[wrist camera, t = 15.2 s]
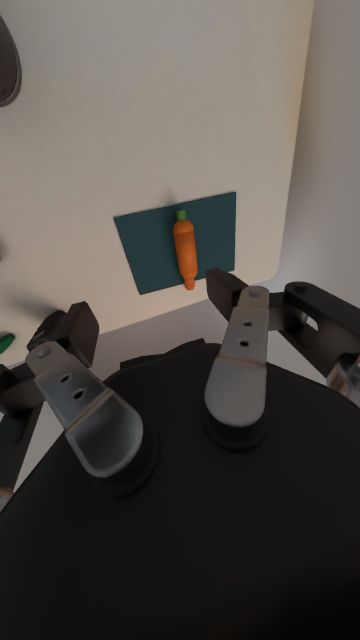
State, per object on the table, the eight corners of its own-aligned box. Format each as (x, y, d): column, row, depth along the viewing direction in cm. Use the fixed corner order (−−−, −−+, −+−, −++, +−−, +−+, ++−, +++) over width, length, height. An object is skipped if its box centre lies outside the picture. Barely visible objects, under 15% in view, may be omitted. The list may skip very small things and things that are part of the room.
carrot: (167, 211, 33) (172, 213, 30) (187, 207, 34) (194, 208, 31) (181, 289, 43) (185, 297, 40) (196, 285, 44) (202, 292, 41)
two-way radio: (61, 306, 39) (31, 355, 27) (77, 320, 41) (57, 369, 30) (41, 319, 39) (4, 372, 27) (58, 331, 42) (31, 385, 30)
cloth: (113, 218, 32) (113, 218, 32) (235, 191, 35) (236, 191, 34) (139, 294, 42) (139, 295, 41) (233, 269, 44) (234, 270, 44)
